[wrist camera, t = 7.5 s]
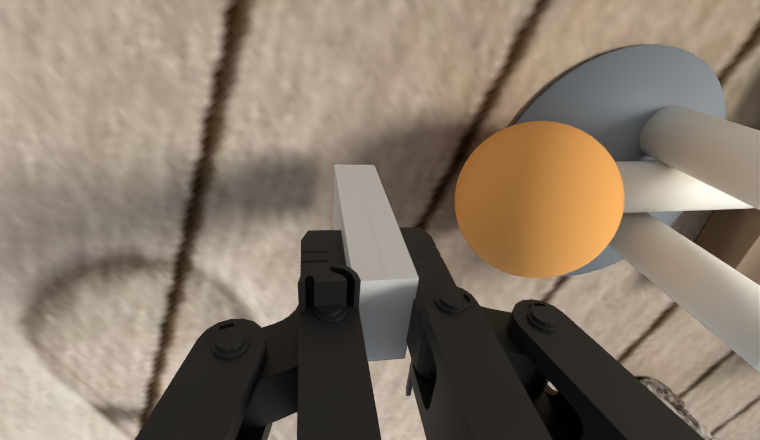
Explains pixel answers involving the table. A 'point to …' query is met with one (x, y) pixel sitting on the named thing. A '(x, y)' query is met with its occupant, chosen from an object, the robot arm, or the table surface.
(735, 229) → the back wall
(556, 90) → the pin disc
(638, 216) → the pin
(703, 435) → the mineral rock
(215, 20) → the table surface
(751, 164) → the pin
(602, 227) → the ball
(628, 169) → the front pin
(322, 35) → the table surface
